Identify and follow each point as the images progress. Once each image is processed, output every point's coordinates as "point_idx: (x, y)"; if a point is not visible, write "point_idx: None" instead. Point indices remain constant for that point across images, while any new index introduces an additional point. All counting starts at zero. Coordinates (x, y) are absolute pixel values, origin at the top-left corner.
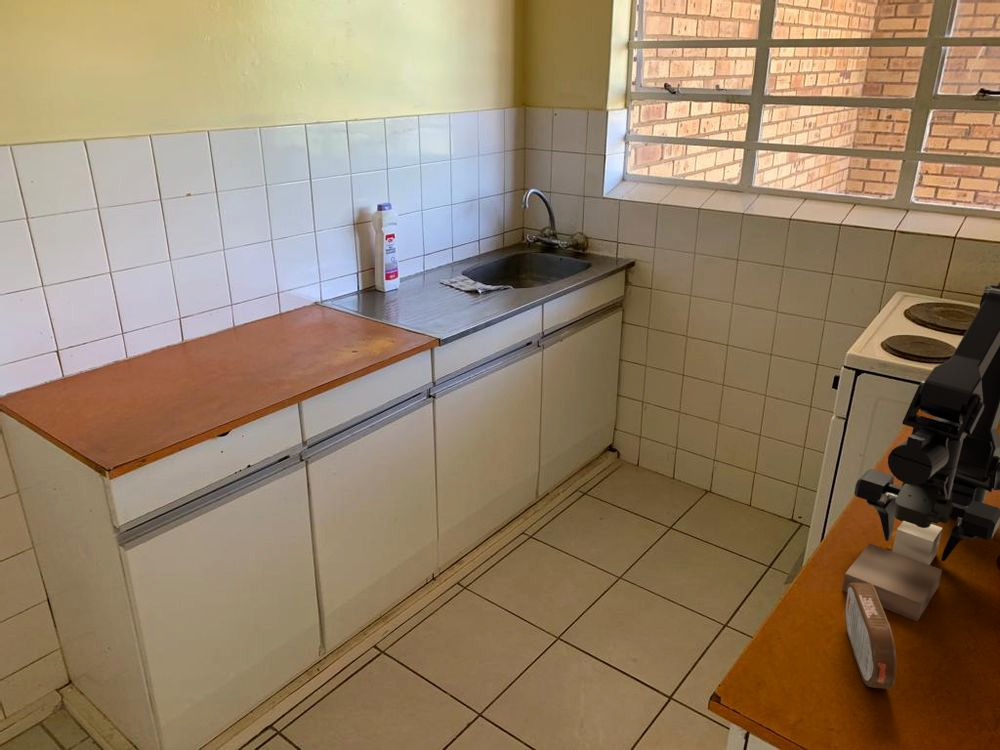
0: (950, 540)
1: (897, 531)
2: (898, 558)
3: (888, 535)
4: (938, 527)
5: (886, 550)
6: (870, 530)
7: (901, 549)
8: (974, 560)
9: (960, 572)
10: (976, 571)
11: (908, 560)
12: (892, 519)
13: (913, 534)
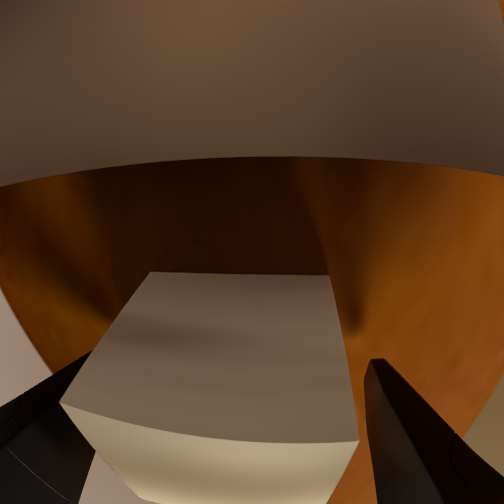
0: (13, 425)
1: (348, 424)
2: (223, 70)
3: (383, 384)
4: (151, 499)
5: (372, 141)
6: (429, 390)
7: (284, 315)
8: None
9: (74, 326)
10: (61, 354)
11: (139, 111)
12: (388, 481)
13: (203, 441)
